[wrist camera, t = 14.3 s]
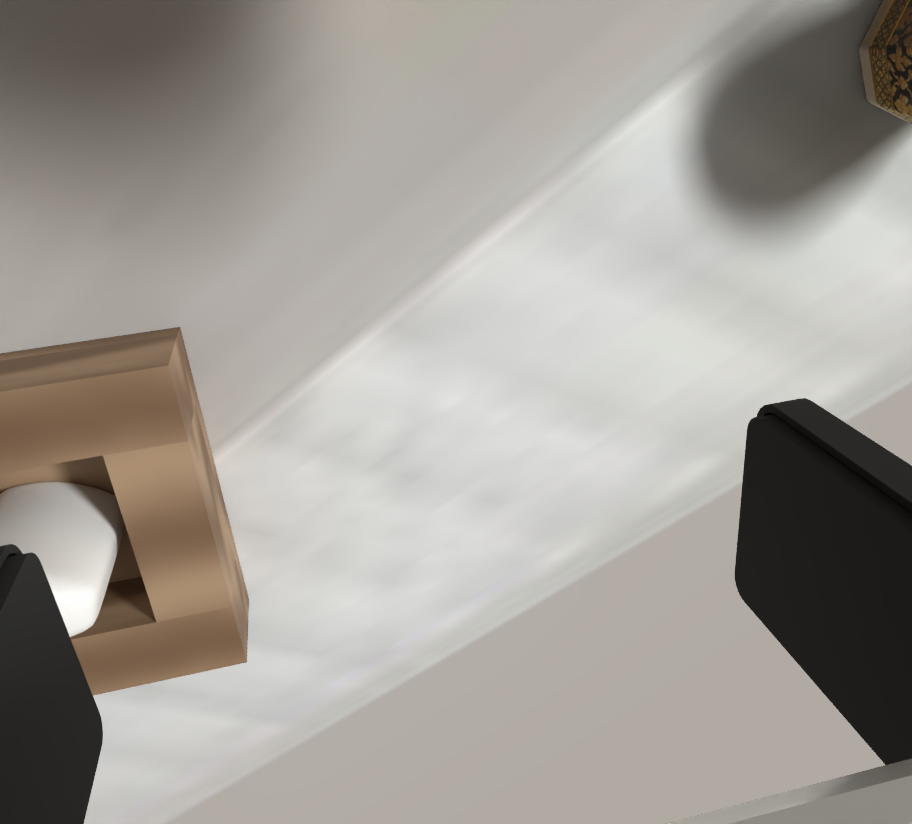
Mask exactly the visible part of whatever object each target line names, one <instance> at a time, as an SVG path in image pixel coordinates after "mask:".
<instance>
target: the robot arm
mask: <svg viewBox="0 0 912 824" xmlns="http://www.w3.org/2000/svg"><path fill="white" fill-rule="evenodd" d="M735 581H736V586H737V589H738V592H739V594H740V596H741V598H742V599H743V600H744V602H745V603H746V604H747V605H748V606H749V607H750V609H751V610H752V611H753V612H754V613H755V614H756V616H757V617H758V618H759V619H760V620H761V621H762V622H763V624H764V625H765V626H766V627H767V628H768V629H769V631H770V632H771V633H772V634H773V635H774V636H775V638H776V639H777V640H778V641H779V642H780V643H781V645H782V646H783V647H784V648H785V649H786V650H787V651H788V653H789V654H790V655H791V656H792V657H793V658H794V660H795V661H796V662H797V663H798V664H799V665H800V666H801V668H802V669H803V670H804V671H805V672H806V673H807V675H808V676H809V677H810V678H811V679H812V680H813V681H814V683H815V684H816V685H817V686H818V687H819V688H820V690H821V691H822V692H823V693H824V694H825V695H826V696H827V698H828V699H829V700H830V701H831V702H832V703H833V705H834V706H835V707H836V708H837V709H838V710H839V712H840V713H841V714H842V715H843V716H844V717H845V718H846V719H847V721H848V722H849V723H850V724H851V725H852V726H853V728H854V729H855V730H856V731H857V732H858V733H859V734H860V736H861V737H862V738H863V739H864V740H865V742H866V743H867V744H868V745H869V746H870V747H871V748H872V750H874V752H875V753H876V754H877V755H878V757H879V758H880V759H881V760H882V761H883V762H884V764H885V766H881V767H878V768H874V769H870V770H866V771H862V772H859V773H855V774H851V775H847V776H844V777H840V778H836V779H832V780H829V781H825V782H821V783H817V784H813V785H809V786H806V787H802V788H798V789H794V790H791V791H787V792H783V793H779V794H776V795H772V796H768V797H764V798H760V799H756V800H753V801H749V802H745V803H741V804H738V805H734V806H730V807H726V808H722V809H719V810H716V811H712V812H708V813H704V814H700V815H697V816H693V817H689V818H685V819H682V820H678V821H674V822H671V823H667V824H912V466H911V465H910V464H908V463H907V462H905V461H903V460H902V459H900V458H899V457H897V456H896V455H894V454H893V453H891V452H889V451H888V450H886V449H885V448H883V447H882V446H880V445H878V444H877V443H875V442H874V441H872V440H871V439H869V438H867V437H866V436H865V435H863V434H862V433H860V432H858V431H857V430H855V429H854V428H852V427H851V426H849V425H848V424H846V423H845V422H843V421H841V420H840V419H838V418H837V417H835V416H834V415H832V414H831V413H829V412H828V411H826V410H824V409H823V408H821V407H820V406H818V405H817V404H815V403H814V402H812V401H810V400H808V399H805V398H803V399H796V400H791V401H785V402H780V403H774V404H769V405H765V406H763V407H762V408H761V409H760V410H759V412H758V414H757V417H755V418H753V419H751V420H750V422H749V424H748V429H747V438H746V450H745V461H744V473H743V484H742V497H741V508H740V519H739V531H738V542H737V554H736V565H735ZM102 737H103V731H102V722H101V717H100V714H99V711H98V708H97V706H96V703H95V700H94V698H93V695H92V693H91V690H90V688H89V685H88V682H87V680H86V677H85V675H84V672H83V669H82V667H81V664H80V662H79V659H78V657H77V654H76V651H75V649H74V646H73V644H72V641H71V639H70V636H69V633H68V631H67V628H66V626H65V623H64V621H63V618H62V615H61V613H60V610H59V608H58V605H57V603H56V600H55V597H54V595H53V592H52V590H51V587H50V585H49V582H48V579H47V577H46V574H45V572H44V569H43V566H42V564H41V562H40V560H39V558H38V557H37V555H36V554H35V553H32V552H31V553H25V554H22V552H21V550H20V549H19V548H18V547H17V546H16V545H13V544H8V545H3V546H0V824H83V823H84V819H85V815H86V811H87V806H88V802H89V798H90V793H91V789H92V785H93V781H94V776H95V772H96V768H97V764H98V759H99V755H100V751H101V746H102Z"/></svg>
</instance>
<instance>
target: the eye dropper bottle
mask: <svg viewBox="0 0 912 824" xmlns="http://www.w3.org/2000/svg"><path fill="white" fill-rule="evenodd" d="M123 531H124V520H123V517H122V514H121V511H120V507H119V504H118V501H117V498H116V496H115V495H113V494H111V493H108V492H106V491H103V490H100V489H98V488H94V487H91V486H87V485H82V484H77V483H70V482H37V483H30V484H24V485H20V486H16V487H12V488H9V489H7V490H5V491H4V492H2V493H1V494H0V546H3V545H8V544H13V545H16V546H17V547H18V548H19V549H20V550H21V552H22V554H25V553H31V552H32V553H35V554H36V555H37V557H38V558H39V560H40V562H41V564H42V566H43V569H44V572H45V574H46V577H47V579H48V582H49V585H50V587H51V590H52V592H53V595H54V597H55V600H56V603H57V605H58V608H59V610H60V613H61V615H62V618H63V621H64V623H65V626H66V628H67V631H68V633H69V636H70V637H72V636H75V635H77V634H79V633H82V632H84V631H86V630H87V629H88V628H90V627H91V626H92V625H93V624H94V623H95V621H96V619H97V617H98V615H99V612H100V609H101V605H102V602H103V599H104V596H105V593H106V590H107V586H108V583H109V580H110V576H111V573H112V570H113V566H114V563H115V559H116V556H117V553H118V549H119V546H120V542H121V539H122V536H123Z"/></svg>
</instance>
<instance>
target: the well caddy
mask: <svg viewBox="0 0 912 824" xmlns="http://www.w3.org/2000/svg"><path fill="white" fill-rule="evenodd" d="M37 482H70V483H77V484H82V485H87V486H91V487H94V488H98V489H100V490H103V491H106V492H108V493H111V494H113V495H115V496H116V498H117V501H118V504H119V507H120V511H121V514H122V517H123V520H124V531H123V536H122V539H121V542H120V546H119V549H118V553H117V556H116V559H115V563H114V566H113V570H112V573H111V576H110V580H109V583H108V586H107V590H106V593H105V596H104V599H103V602H102V605H101V609H100V612H99V615H98V617H97V619H96V621H95V623H94V624H93V625H92V626H91V627H90V628H88V629H87V630H86V631H84V632H82V633H79V634H77V635H75V636H72V637H70V639H71V641H72V644H73V646H74V649H75V651H76V654H77V657H78V659H79V662H80V664H81V667H82V669H83V672H84V675H85V677H86V680H87V682H88V685H89V688H90V690H91V693H92V695H97V694H102V693H106V692H111V691H116V690H120V689H125V688H129V687H134V686H139V685H143V684H148V683H153V682H157V681H162V680H166V679H171V678H176V677H180V676H185V675H190V674H194V673H199V672H203V671H208V670H213V669H217V668H222V667H227V666H231V665H236V664H240V663H245V662H247V641H248V608H249V599H248V595H247V591H246V587H245V583H244V579H243V575H242V571H241V567H240V563H239V559H238V555H237V551H236V547H235V543H234V539H233V535H232V531H231V527H230V523H229V519H228V515H227V512H226V508H225V504H224V500H223V496H222V492H221V488H220V484H219V480H218V476H217V472H216V468H215V464H214V460H213V456H212V452H211V448H210V444H209V440H208V436H207V432H206V428H205V425H204V421H203V417H202V413H201V409H200V405H199V401H198V397H197V393H196V389H195V385H194V381H193V377H192V373H191V369H190V365H189V361H188V357H187V353H186V349H185V345H184V341H183V337H182V334H181V330H180V327H178V328H171V329H164V330H157V331H151V332H144V333H137V334H130V335H124V336H117V337H110V338H103V339H97V340H90V341H83V342H76V343H70V344H63V345H56V346H49V347H43V348H36V349H29V350H22V351H15V352H9V353H2V354H0V494H1V493H2V492H4V491H5V490H7V489H9V488H12V487H16V486H20V485H24V484H30V483H37Z"/></svg>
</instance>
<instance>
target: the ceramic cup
mask: <svg viewBox="0 0 912 824" xmlns="http://www.w3.org/2000/svg"><path fill="white" fill-rule="evenodd" d="M859 55H860V61H861V68H862V74H863V81H864V87H865V93H866V99H867V101H868V102H869V103H871V104H873V105H875V106H877V107H879V108H881V109H882V110H884V111H886V112H888V113H890V114H892V115H894V116H896V117H898V118H900V119H902V120H904V121H907V122H910V123H912V0H883V1H882V3H881V5H880V7H879V9H878V11H877V13H876V15H875V17H874V19H873V21H872V23H871V25H870V27H869V29H868V31H867V33H866V35H865V37H864V39H863V41H862V43H861V45H860V47H859Z"/></svg>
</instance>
